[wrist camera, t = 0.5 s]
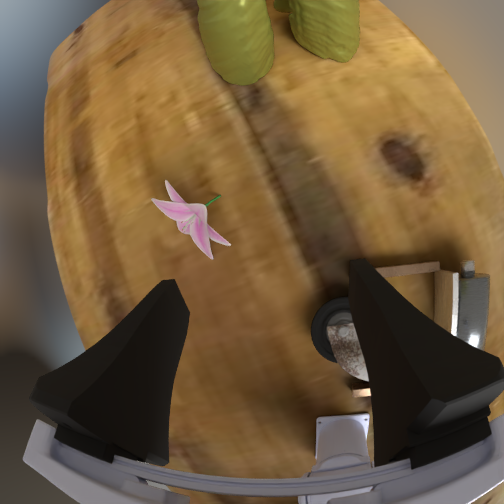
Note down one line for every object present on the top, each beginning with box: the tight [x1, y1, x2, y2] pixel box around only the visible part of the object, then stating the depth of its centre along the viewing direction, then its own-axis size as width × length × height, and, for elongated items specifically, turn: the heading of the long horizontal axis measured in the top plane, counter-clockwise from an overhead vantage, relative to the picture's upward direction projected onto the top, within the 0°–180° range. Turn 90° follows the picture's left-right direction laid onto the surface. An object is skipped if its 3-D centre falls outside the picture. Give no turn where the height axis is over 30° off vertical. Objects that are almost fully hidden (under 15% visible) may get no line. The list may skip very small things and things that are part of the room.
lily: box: [151, 180, 231, 260], centre depth 35 cm, size 12×12×10 cm
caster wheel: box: [311, 297, 369, 381], centre depth 31 cm, size 7×11×10 cm
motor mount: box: [352, 260, 490, 397], centre depth 27 cm, size 17×19×7 cm
